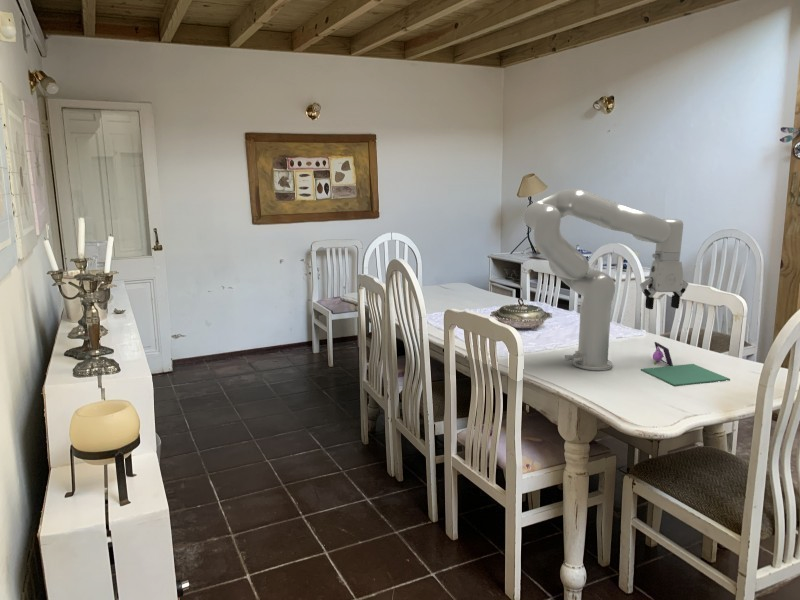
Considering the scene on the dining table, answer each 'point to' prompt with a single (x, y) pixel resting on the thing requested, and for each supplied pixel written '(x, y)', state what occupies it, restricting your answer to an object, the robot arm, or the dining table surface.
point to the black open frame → (659, 354)
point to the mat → (684, 374)
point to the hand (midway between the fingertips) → (661, 308)
